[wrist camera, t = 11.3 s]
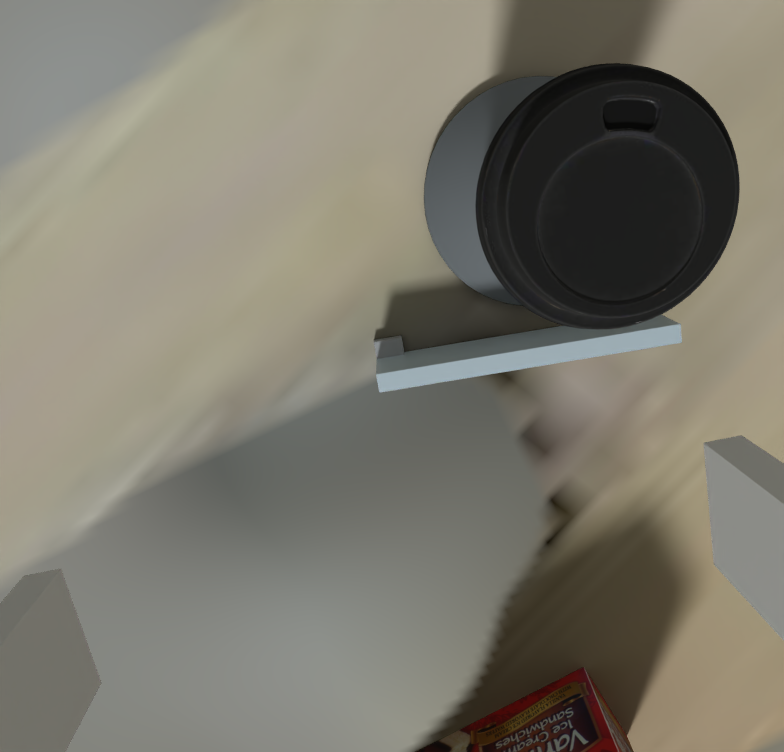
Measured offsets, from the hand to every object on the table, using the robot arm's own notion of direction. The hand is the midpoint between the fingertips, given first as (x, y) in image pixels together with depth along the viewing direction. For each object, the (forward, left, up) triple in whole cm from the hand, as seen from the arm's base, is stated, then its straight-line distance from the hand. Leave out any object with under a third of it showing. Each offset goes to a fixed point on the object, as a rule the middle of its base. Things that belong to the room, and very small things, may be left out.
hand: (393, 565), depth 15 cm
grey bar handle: (+7, -3, -28) cm, 29 cm away
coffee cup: (+9, +5, -27) cm, 29 cm away
